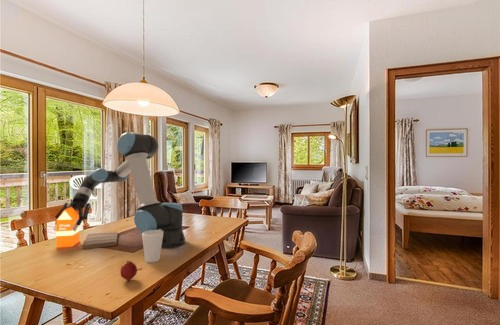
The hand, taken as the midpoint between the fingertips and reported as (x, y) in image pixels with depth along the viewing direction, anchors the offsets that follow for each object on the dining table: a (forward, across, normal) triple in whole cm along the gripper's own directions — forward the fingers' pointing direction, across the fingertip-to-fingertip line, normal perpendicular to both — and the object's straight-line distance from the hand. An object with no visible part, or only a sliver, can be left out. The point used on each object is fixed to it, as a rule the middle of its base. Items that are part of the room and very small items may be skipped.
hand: (64, 230), depth 135 cm
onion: (+35, -50, +22) cm, 65 cm away
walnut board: (0, -15, -12) cm, 19 cm away
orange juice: (+4, 0, -9) cm, 10 cm away
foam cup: (+20, -53, +8) cm, 57 cm away
